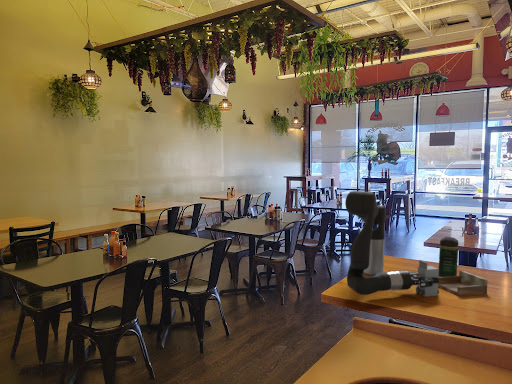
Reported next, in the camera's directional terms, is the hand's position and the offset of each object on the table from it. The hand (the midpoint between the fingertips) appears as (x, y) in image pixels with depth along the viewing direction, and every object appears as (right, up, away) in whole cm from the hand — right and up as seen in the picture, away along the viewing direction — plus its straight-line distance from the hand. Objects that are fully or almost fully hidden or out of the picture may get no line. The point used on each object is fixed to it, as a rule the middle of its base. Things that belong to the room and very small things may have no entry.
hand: (433, 278), depth 161 cm
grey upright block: (-2, -7, 0) cm, 7 cm away
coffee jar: (+18, -5, +25) cm, 32 cm away
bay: (+14, -6, +6) cm, 17 cm away
